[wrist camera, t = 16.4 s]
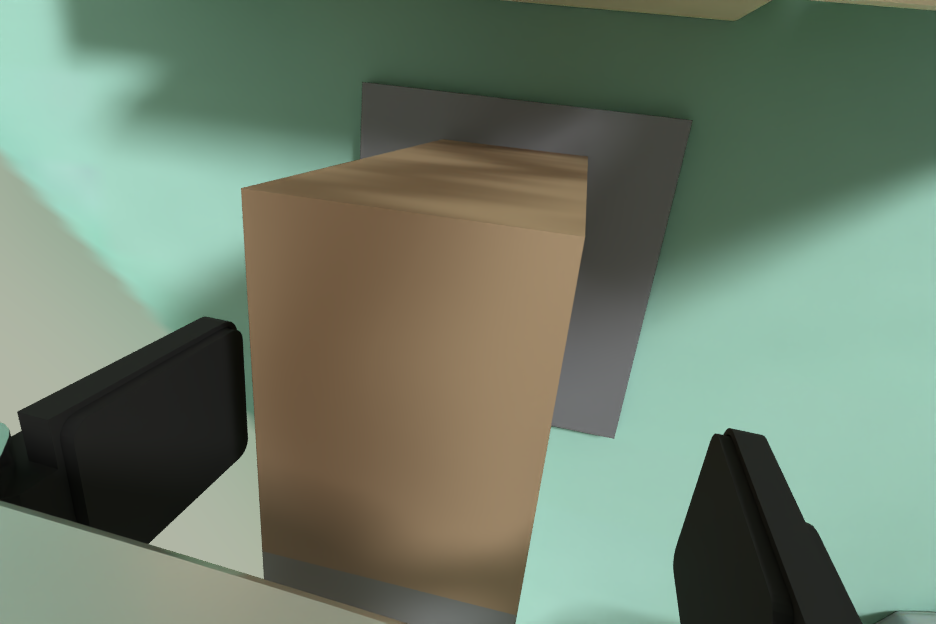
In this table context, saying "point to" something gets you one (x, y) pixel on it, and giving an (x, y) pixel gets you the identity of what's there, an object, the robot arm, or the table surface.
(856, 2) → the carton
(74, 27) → the table surface
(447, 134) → the rubber mat
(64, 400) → the robot arm
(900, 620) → the ceramic cup
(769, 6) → the table surface
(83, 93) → the table surface
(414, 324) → the walnut box
